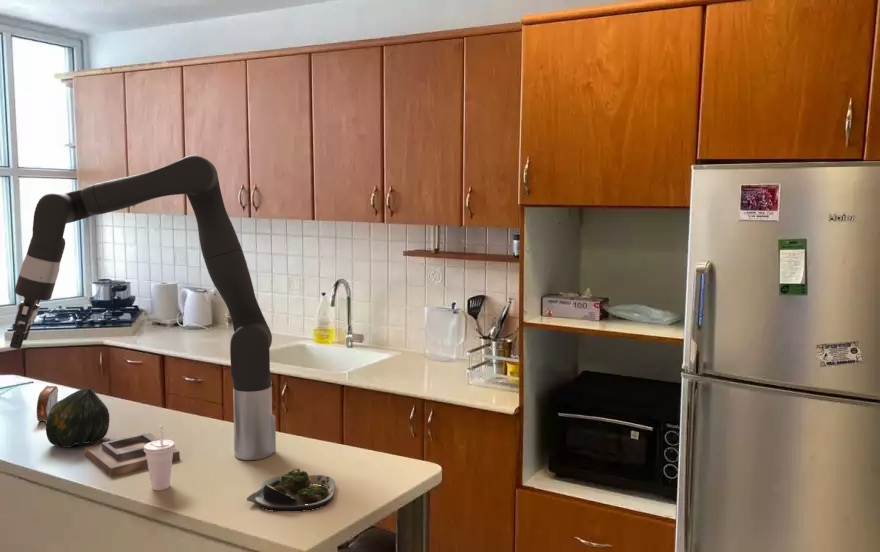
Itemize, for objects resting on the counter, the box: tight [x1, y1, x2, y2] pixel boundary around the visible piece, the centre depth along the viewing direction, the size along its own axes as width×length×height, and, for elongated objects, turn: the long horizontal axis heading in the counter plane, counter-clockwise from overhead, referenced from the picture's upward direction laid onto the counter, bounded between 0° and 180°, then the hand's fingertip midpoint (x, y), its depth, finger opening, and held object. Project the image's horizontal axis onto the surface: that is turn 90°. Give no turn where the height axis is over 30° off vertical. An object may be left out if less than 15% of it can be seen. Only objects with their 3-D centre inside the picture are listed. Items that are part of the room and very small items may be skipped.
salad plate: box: [246, 468, 336, 512], centre depth 150 cm, size 19×18×5 cm
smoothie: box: [144, 424, 176, 491], centre depth 152 cm, size 6×6×14 cm
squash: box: [45, 387, 110, 448], centre depth 179 cm, size 14×15×15 cm
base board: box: [84, 432, 181, 477], centre depth 169 cm, size 16×18×4 cm
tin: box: [36, 385, 59, 422], centre depth 200 cm, size 15×3×8 cm, turn 17°
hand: (18, 343), depth 160 cm, fingers open, 8 cm apart
